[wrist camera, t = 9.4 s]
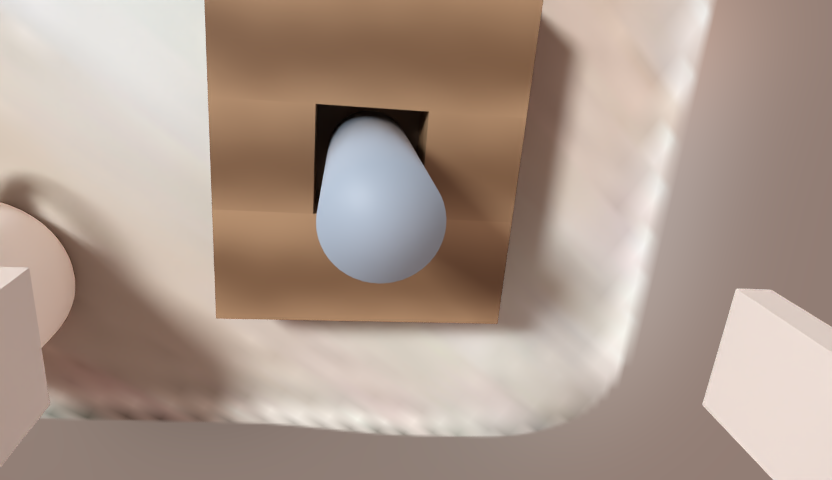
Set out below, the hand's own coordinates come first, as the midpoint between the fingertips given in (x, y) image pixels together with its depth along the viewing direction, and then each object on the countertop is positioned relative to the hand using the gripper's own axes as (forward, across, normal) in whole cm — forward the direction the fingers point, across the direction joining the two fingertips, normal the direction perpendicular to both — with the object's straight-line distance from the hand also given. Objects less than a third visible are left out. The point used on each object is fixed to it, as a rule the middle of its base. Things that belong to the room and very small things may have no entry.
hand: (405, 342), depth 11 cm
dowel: (+19, 0, 0) cm, 19 cm away
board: (+20, 0, 0) cm, 20 cm away
